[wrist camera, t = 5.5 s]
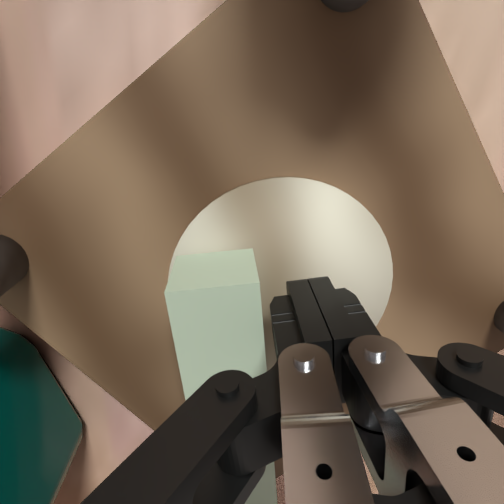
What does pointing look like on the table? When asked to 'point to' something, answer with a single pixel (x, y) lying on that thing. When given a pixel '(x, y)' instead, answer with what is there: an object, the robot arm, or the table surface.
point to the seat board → (263, 192)
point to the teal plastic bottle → (32, 425)
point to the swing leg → (219, 326)
